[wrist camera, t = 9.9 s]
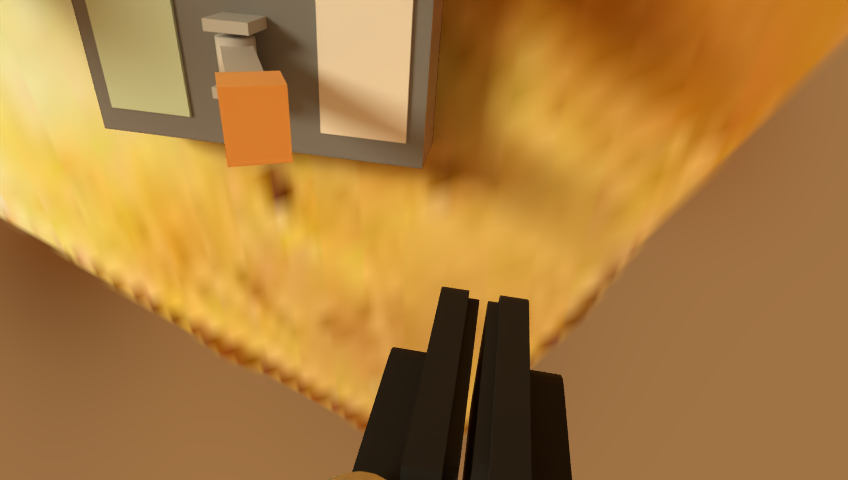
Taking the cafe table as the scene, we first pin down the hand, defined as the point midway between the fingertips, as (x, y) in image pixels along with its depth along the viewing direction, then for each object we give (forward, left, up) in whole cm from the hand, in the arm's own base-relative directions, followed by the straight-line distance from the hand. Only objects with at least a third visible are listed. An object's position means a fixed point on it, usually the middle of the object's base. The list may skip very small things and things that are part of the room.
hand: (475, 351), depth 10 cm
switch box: (0, -14, -24) cm, 28 cm away
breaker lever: (0, -14, -19) cm, 24 cm away
